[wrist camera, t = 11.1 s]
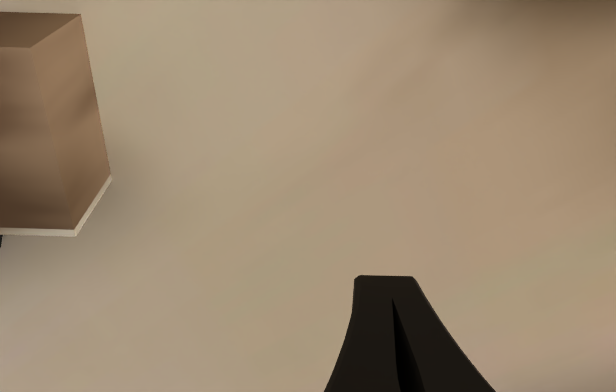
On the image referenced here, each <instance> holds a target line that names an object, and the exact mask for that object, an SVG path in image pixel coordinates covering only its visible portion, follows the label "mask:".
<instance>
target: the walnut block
mask: <svg viewBox="0 0 616 392" xmlns="http://www.w3.org/2000/svg"><path fill="white" fill-rule="evenodd" d="M111 181H112V179H111V174H110V168H109V163H108V158H107V152H106V147H105V141H104V136H103V131H102V125H101V120H100V115H99V109H98V104H97V99H96V93H95V88H94V83H93V77H92V72H91V67H90V61H89V56H88V51H87V45H86V40H85V34H84V29H83V24H82V18H81V14H55V13H19V12H0V235H32V236H65V237H76V236H77V234H78V232H79V231H80V229H81V228H82V226H83V225H84V223H85V222H86V220H87V218H88V217H89V215H90V214H91V212H92V211H93V209H94V207H95V206H96V204H97V203H98V201H99V200H100V198H101V197H102V195H103V193H104V192H105V190H106V189H107V187H108V186H109V184H110V183H111Z"/></svg>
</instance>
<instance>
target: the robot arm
mask: <svg viewBox="0 0 616 392" xmlns="http://www.w3.org/2000/svg"><path fill="white" fill-rule="evenodd" d="M324 392H496V391H495V390H494V389H493V388H492V387H491V386H490V385H489V383H488V382H487V381H486V380H485V379H484V378H483V376H482V375H481V374H480V373H479V371H478V370H477V369H476V368H475V367H474V365H473V364H472V363H471V362H470V360H469V359H468V358H467V356H466V355H465V354H464V353H463V351H462V350H461V349H460V347H459V346H458V344H457V343H456V342H455V340H454V339H453V337H452V336H451V335H450V333H449V332H448V331H447V329H446V328H445V326H444V325H443V323H442V322H441V320H440V319H439V317H438V316H437V314H436V313H435V311H434V310H433V308H432V306H431V305H430V303H429V302H428V300H427V298H426V297H425V295H424V293H423V291H422V290H421V288H420V286H419V284H418V283H417V281H416V280H415V279H414V278H413V277H412V276H370V275H359V276H358V277H357V278H355V279H354V291H353V305H352V314H351V318H350V322H349V326H348V329H347V333H346V336H345V340H344V343H343V346H342V348H341V351H340V354H339V357H338V359H337V362H336V365H335V367H334V370H333V372H332V375H331V377H330V379H329V382H328V384H327V386H326V388H325V391H324Z"/></svg>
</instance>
